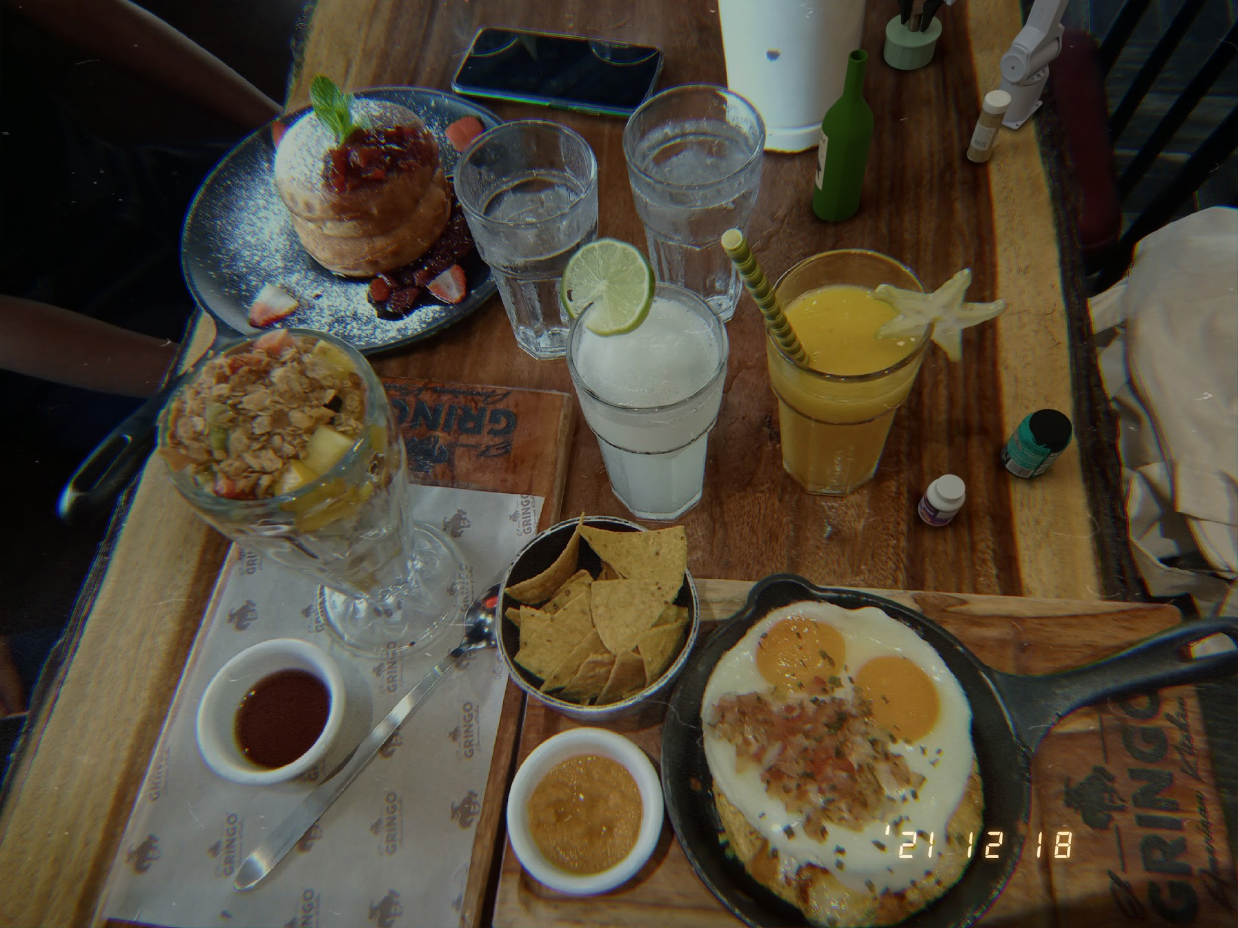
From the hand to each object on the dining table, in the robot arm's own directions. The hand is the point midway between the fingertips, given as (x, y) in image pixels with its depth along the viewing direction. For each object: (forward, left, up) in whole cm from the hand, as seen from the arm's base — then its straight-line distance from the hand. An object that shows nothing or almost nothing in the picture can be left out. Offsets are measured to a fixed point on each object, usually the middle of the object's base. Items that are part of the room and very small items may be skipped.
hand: (914, 26), depth 156 cm
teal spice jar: (+71, +72, -7) cm, 101 cm away
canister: (0, 0, -6) cm, 6 cm away
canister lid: (0, 0, -1) cm, 1 cm away
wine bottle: (+45, +15, -7) cm, 48 cm away
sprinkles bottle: (+18, +29, -7) cm, 35 cm away
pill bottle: (+87, +67, -7) cm, 110 cm away
